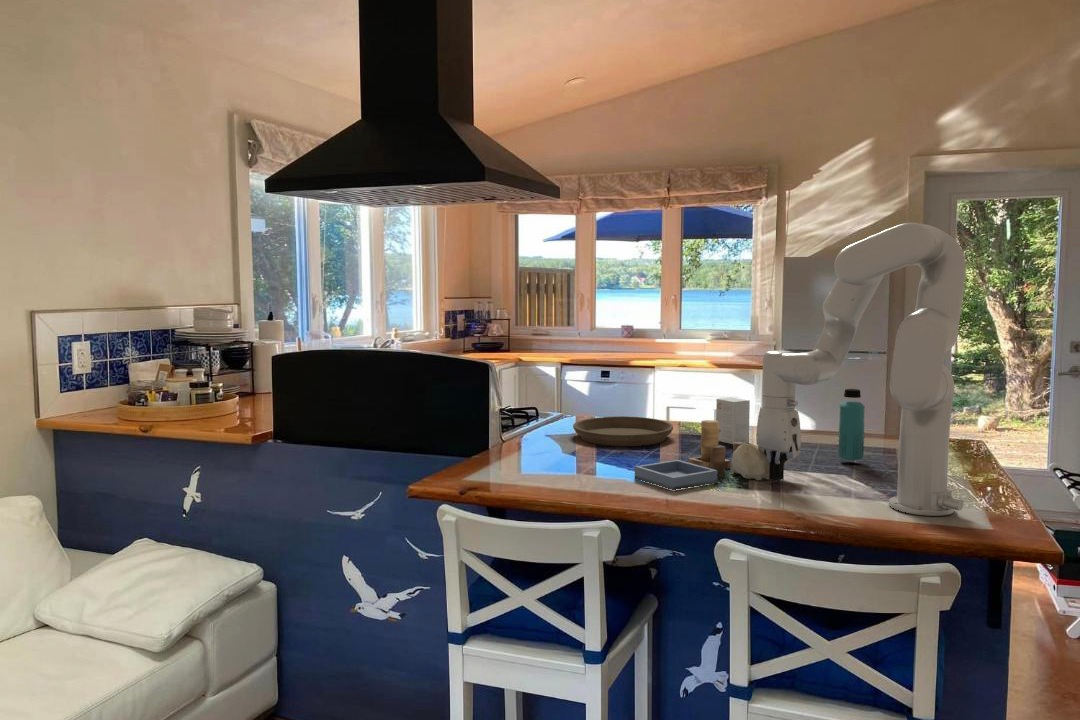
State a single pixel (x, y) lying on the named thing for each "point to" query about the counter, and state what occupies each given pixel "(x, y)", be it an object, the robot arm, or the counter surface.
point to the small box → (733, 420)
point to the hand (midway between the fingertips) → (776, 479)
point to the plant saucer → (623, 430)
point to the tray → (676, 474)
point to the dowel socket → (705, 464)
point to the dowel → (708, 438)
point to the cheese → (751, 462)
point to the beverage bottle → (851, 427)
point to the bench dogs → (720, 457)
